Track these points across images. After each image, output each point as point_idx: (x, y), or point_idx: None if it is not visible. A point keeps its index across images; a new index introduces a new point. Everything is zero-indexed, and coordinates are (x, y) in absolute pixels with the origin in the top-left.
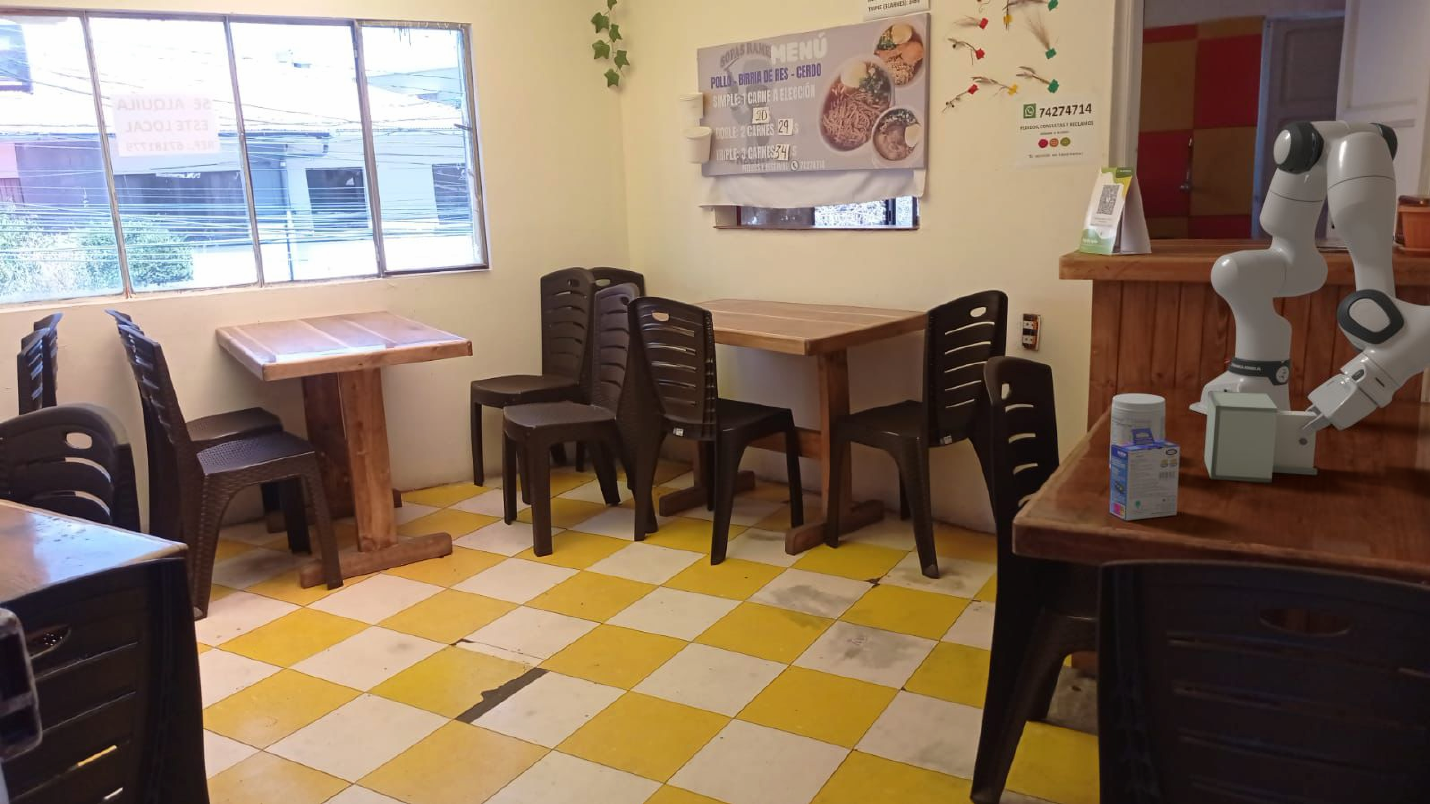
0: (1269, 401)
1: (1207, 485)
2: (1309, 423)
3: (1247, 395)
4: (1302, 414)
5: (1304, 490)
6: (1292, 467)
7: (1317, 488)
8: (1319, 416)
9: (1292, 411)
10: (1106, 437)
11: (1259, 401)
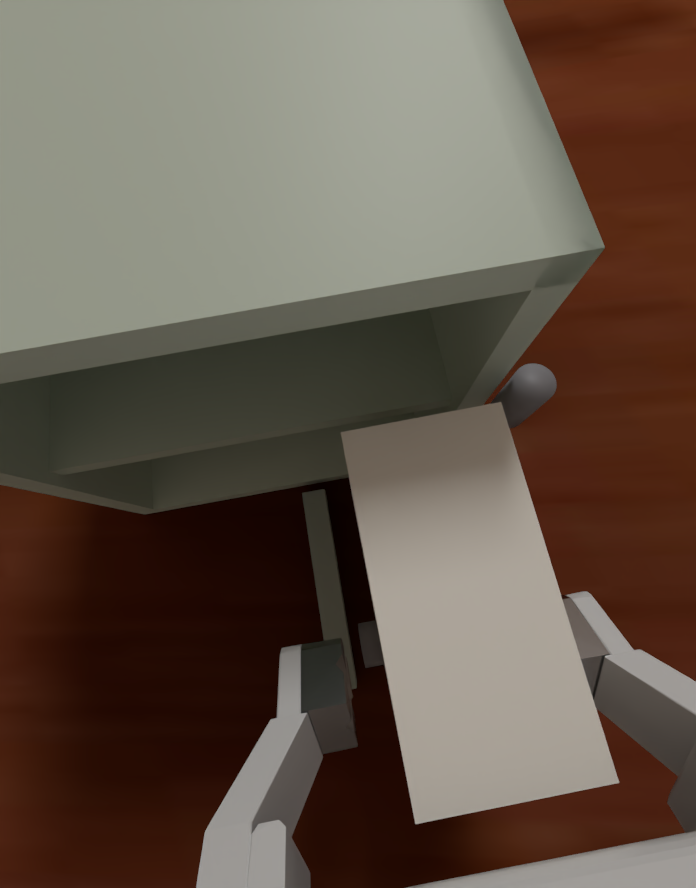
0: (71, 310)
1: None
2: (281, 720)
3: (365, 104)
4: (421, 664)
5: (69, 637)
6: (332, 584)
7: (113, 688)
8: (234, 864)
9: (532, 567)
10: (558, 9)
11: (50, 222)
